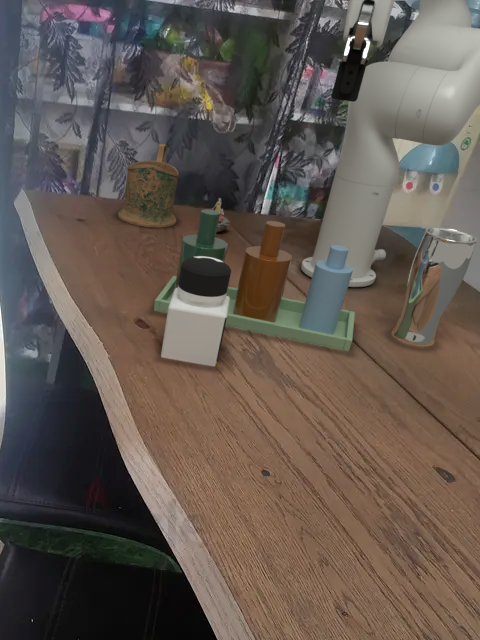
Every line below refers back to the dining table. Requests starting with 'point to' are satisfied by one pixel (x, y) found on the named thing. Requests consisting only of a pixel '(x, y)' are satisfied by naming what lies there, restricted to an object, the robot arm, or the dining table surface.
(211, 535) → the dining table surface
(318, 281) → the blue bottle
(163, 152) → the bronze bell
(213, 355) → the medicine bottle
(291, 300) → the tray
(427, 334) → the beer glass
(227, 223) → the figurine
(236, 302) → the amber bottle
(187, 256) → the green bottle
